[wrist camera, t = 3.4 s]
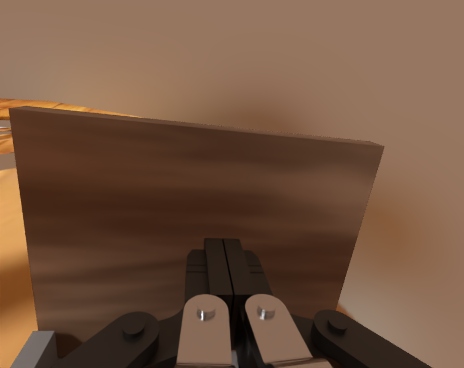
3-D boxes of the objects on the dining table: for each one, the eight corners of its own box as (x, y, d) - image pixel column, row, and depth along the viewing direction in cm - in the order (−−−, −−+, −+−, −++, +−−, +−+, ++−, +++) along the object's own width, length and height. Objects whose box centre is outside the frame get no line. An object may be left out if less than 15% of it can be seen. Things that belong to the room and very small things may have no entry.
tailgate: (324, 348, 22) (384, 146, 17) (41, 357, 18) (8, 108, 13) (313, 326, 24) (364, 139, 19) (56, 331, 20) (32, 105, 15)
